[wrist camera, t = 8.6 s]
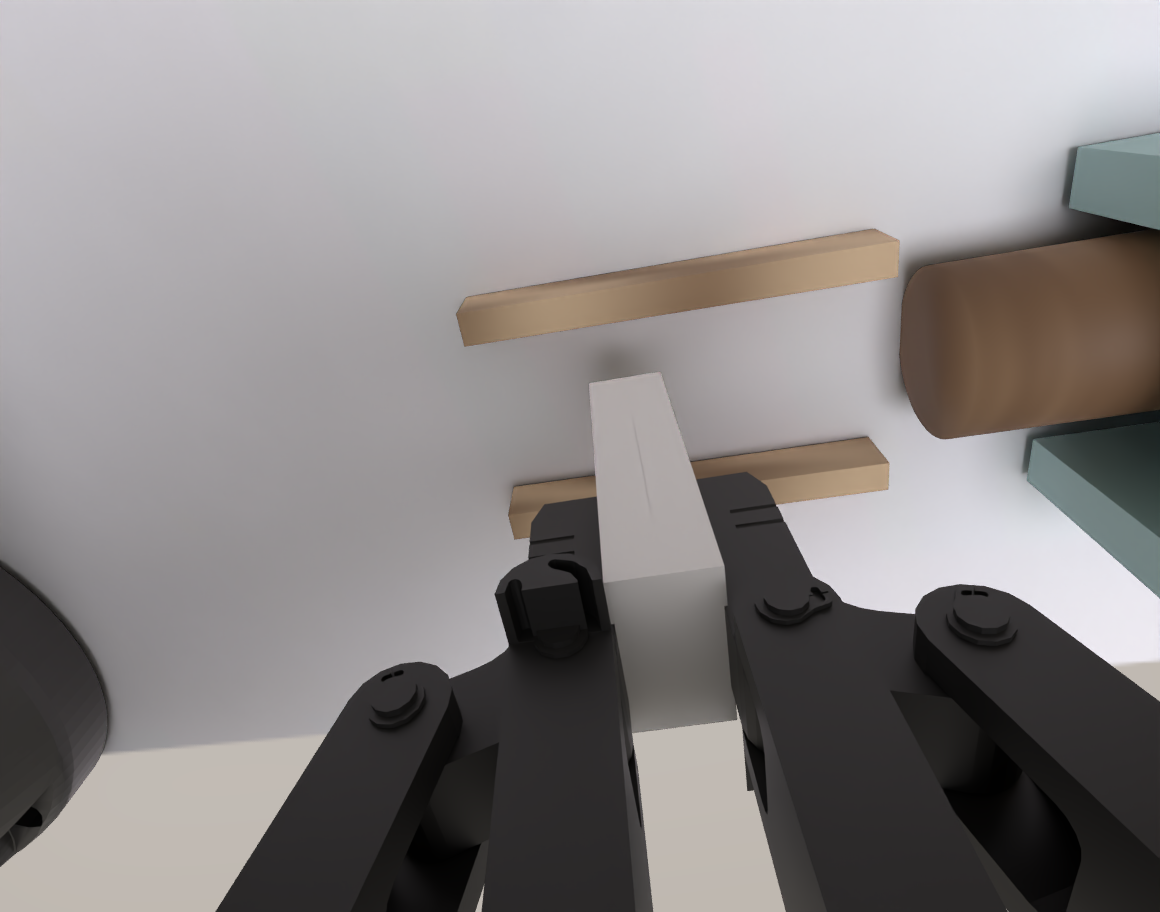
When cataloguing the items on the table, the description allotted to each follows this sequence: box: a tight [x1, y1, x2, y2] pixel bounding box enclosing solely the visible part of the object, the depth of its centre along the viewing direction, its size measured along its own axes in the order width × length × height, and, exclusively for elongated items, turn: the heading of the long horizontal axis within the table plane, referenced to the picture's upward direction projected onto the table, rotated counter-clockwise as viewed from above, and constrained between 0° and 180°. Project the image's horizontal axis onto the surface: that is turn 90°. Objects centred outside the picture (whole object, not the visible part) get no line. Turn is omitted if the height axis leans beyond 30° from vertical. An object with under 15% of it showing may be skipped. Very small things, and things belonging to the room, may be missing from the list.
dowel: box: [899, 229, 1160, 439], centre depth 15 cm, size 8×4×4 cm, turn 100°
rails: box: [456, 229, 899, 539], centre depth 18 cm, size 10×6×2 cm, turn 100°
